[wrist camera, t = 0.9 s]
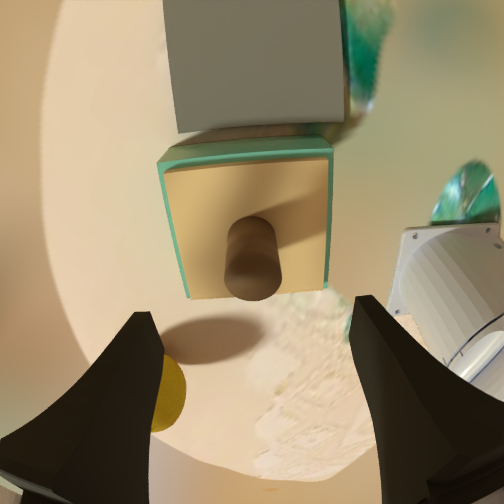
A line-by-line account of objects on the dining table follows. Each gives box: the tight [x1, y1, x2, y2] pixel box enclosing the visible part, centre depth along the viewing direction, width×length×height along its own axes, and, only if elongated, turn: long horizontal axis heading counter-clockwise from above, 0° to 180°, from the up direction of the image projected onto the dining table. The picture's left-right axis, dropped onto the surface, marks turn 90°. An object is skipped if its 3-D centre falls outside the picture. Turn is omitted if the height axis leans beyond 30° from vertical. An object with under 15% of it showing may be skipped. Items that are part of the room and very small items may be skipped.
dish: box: [157, 135, 333, 298], centre depth 18 cm, size 8×8×3 cm
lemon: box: [151, 354, 186, 432], centre depth 23 cm, size 6×6×8 cm
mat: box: [163, 0, 344, 134], centre depth 14 cm, size 9×8×1 cm
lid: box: [163, 157, 328, 301], centre depth 15 cm, size 8×8×4 cm
